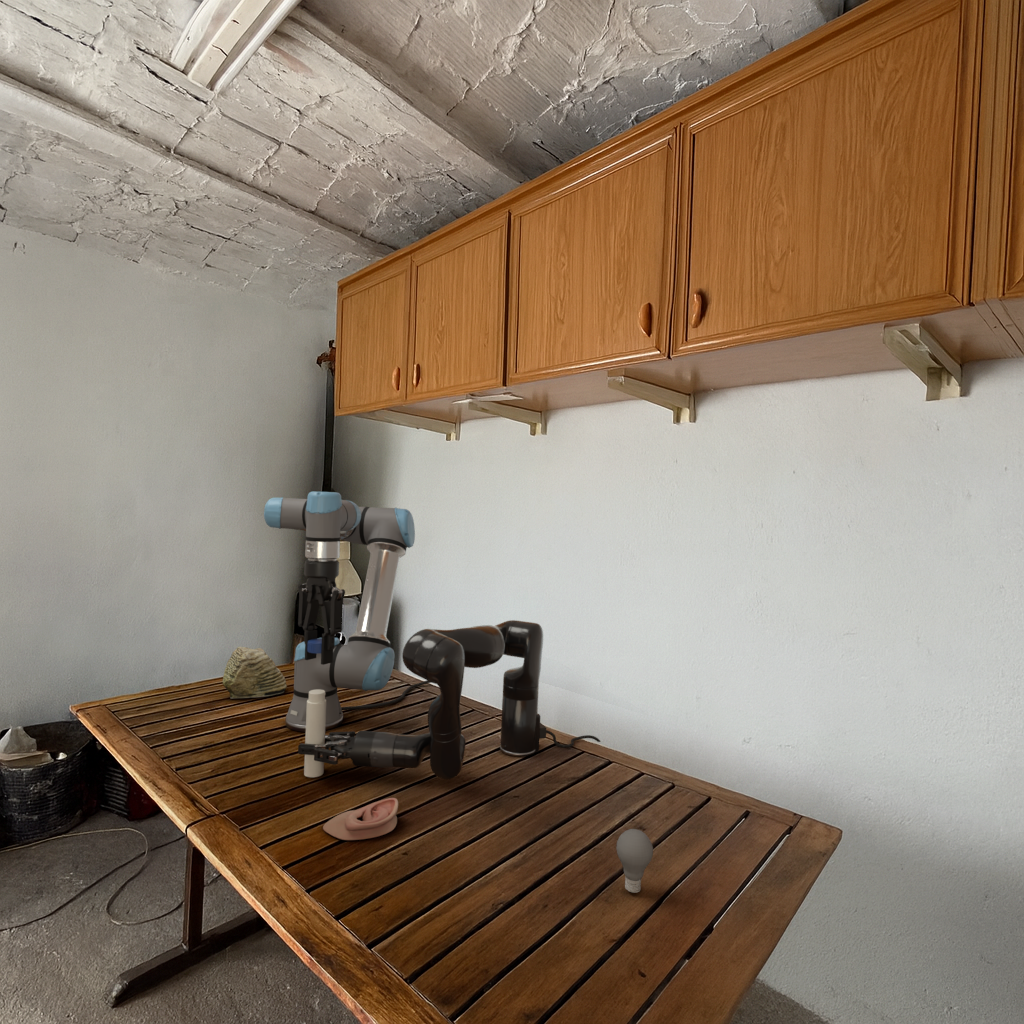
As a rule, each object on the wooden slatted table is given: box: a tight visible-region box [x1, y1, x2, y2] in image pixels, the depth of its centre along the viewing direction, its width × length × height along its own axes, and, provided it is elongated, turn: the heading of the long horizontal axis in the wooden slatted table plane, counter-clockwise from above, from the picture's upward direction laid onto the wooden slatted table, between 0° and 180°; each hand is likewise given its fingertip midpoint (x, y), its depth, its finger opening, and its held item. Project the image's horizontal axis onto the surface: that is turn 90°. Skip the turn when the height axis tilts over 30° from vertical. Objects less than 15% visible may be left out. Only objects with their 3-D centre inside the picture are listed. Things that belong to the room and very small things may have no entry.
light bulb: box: [615, 828, 654, 894], centre depth 106 cm, size 6×6×10 cm
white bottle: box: [303, 689, 326, 778], centre depth 145 cm, size 4×4×19 cm
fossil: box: [222, 646, 288, 699], centre depth 198 cm, size 9×18×15 cm, turn 132°
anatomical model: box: [322, 797, 399, 841], centre depth 122 cm, size 13×4×12 cm
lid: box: [307, 637, 322, 653], centre depth 144 cm, size 5×5×2 cm
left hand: (318, 660), depth 144 cm, fingers closed on lid, 5 cm apart
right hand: (303, 744), depth 145 cm, fingers closed on white bottle, 4 cm apart
